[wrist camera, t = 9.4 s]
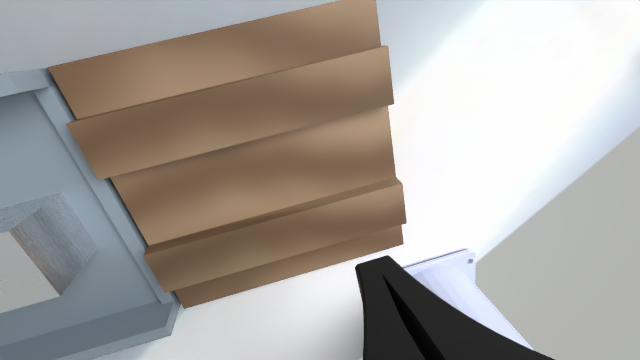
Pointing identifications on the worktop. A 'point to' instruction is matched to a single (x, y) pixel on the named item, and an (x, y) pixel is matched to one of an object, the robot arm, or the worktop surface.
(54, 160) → the tray
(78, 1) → the worktop surface
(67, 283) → the chip
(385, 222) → the slot board
